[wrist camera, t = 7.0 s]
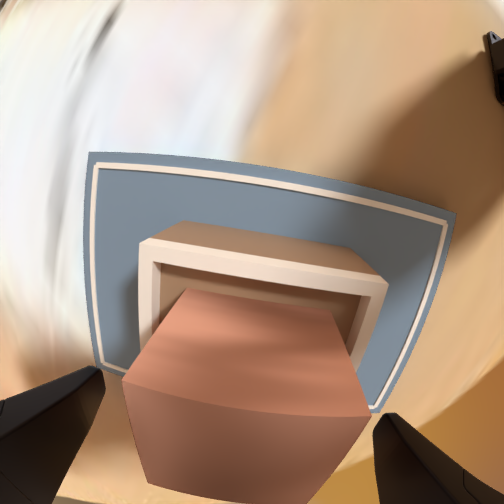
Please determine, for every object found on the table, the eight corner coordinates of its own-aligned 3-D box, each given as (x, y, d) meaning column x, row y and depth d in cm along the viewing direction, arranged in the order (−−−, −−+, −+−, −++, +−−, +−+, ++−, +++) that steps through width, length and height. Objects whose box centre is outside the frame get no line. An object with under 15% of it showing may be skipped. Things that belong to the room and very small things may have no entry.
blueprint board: (447, 211, 13) (516, 231, 7) (375, 403, 16) (397, 463, 11) (98, 152, 13) (26, 148, 8) (102, 359, 17) (62, 409, 11)
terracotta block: (330, 309, 9) (371, 415, 4) (297, 408, 11) (304, 505, 6) (187, 287, 9) (121, 380, 5) (183, 390, 11) (147, 482, 6)
